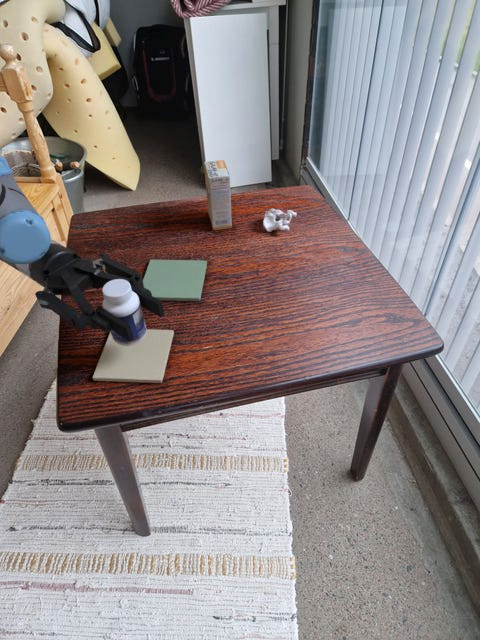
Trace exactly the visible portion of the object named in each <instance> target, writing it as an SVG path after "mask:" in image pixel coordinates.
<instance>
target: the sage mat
mask: <svg viewBox="0 0 480 640" xmlns="http://www.w3.org/2000/svg"><path fill="white" fill-rule="evenodd" d="M207 266H208V260H198V259H197V260H195V259H190V260H189V259H149V262H148V265H147V268H146V271H145V273H144V276H143V278H142V280H143V284H144V288H146V289H148V290H150V291H151V294H152V296H153V297H155V298H157V299H159V300H160V301H171V302H173V301H174V302H176V301H178V302H201V298H202V294H203V293H202V292H203V287H204V282H205V277H206V272H207Z"/></svg>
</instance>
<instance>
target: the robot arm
mask: <svg viewBox="0 0 480 640" xmlns="http://www.w3.org/2000/svg"><path fill="white" fill-rule="evenodd" d="M14 176H15V175H14V171H13V170H12V169H11V167H10V165H9V163H8V161H7V159H6V158H5V157H4V156H3V155H1V154H0V261H1V262H3V263H4V264H6V265H8V266H10V267H11V268H13V269H15V270H16V271H18V272H19V273H21V274H23V275H24V276H26V278H29V279H30V280H32V281H34V282H35V283H37V284H38V285H40V286H41V287H42V288H44V289H45V290H37V291H36V292H35V293H34V294H35V297H36V299H37V302H38V304H39V307H41V308H42V309H46V310H50V311H52V312H53V313H55V314H56V315H57V316H59V317H60V318H61V319H63V320H64V321H65V322H67V323H68V324H69V325H70V326H71V327H74V328H75V329H76V330H78V331H83V330H85V329H86V326H89V325H90V328H91V329H93V330H96V329H100V330H101V331H103V332H104V333H110V331H111V330H112V331H114V332H115V333H117V334H118V335H120V336H122V337H123V338H125V339H126V340H128V341H129V342H131V341H132V340H133V339H134V337H133V333H132V330H131V327H130V325H129V324H127V323H125V322H124V321H122V320H121V319H119V318H117V317H116V316H114V315H112V314H111V313H109V312H108V311H106V310H104V309H103V307H101V306H98V307H96V309H95V308H94V307H93V306H92V305H91V303H90V302H89V300H88V299H87V298H86V297H85V295H84V294H83V293H84V292H85V291H86V290H88V289H90V288H92V289H96V290H99V289H100V290H101V289H103V286H104V285H105V284H106V283H107V282H109V281H111V280H115V279H124V280H126V281H128V282H129V283H130V285H131V289H132V291H133V292H135V293H136V294H137V295H138V297H139V300H140V304H141V308H143V309H145V310H147V311H149V312H151V313H152V314H154V315H156V316H157V317H159V318H163V317H164V316H165V309H164V305H163V304H164V303H163V300H159V299H157V298H155V297H153V296H152V294H151V291H150V290H148V289H146V288H144V284H143V276H142V273H141V272H139V271H138V270H136V269H133V268H131V267H129V266H127V265H125V264H123V263H121V262H119V261H117V260H115V259H113V258H111V257H110V256H109V255H108V254H107V252H102V253H100V254H99V258H98V259H95V260H91V259H86V258H82V257H81V256H80V255H79V254H78V253H76V252H75V251H73V250H71V249H70V248H68V247H66V246H64V245H62V244H60V242H58V241H56V240H53V239H52V236H51V232H50V230H49V227H48V226H47V222H46V221H45V219H44V217H43V216H42V215H40V214H39V212H38V211H37V209H36V208H35V207H34V206H33V204H32V203H31V201H30V200H29V198H27V196H26V195H25V194H24V192H23V191H22V188H20V186H19V185H18V183H17V180H16V178H15V177H14ZM58 296H69V297H70V299H71V300H72V301H73V303H74V304H75V305H76V307H77V308H78V309H79V311H80V312H81V313H80V312H79V311H78V310H77V309H75V308H74V307H72V306H71V305H69V304H68V303H67V302H65V301H63V300H62V299H61V298H60V297H58Z"/></svg>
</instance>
